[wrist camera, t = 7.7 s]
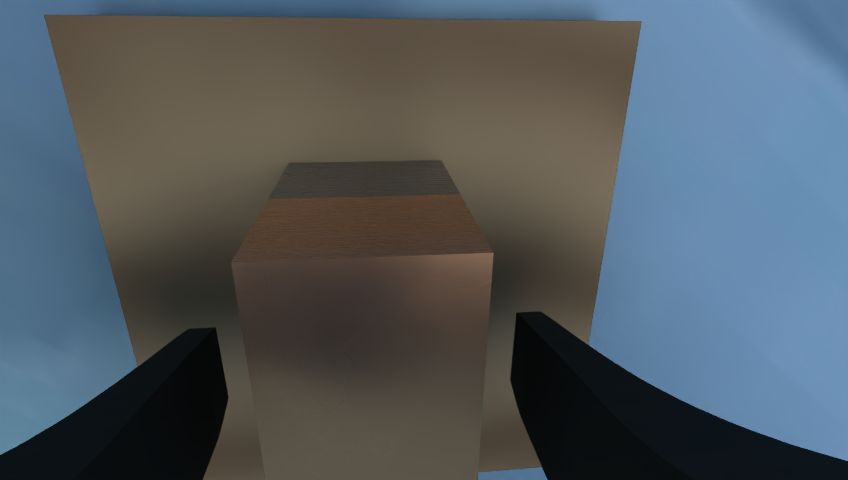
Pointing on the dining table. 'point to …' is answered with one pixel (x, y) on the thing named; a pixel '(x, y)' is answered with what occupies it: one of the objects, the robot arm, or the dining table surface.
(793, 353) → the dining table surface
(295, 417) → the brown rectangular block
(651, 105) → the dining table surface
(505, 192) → the walnut stand
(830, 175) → the dining table surface
